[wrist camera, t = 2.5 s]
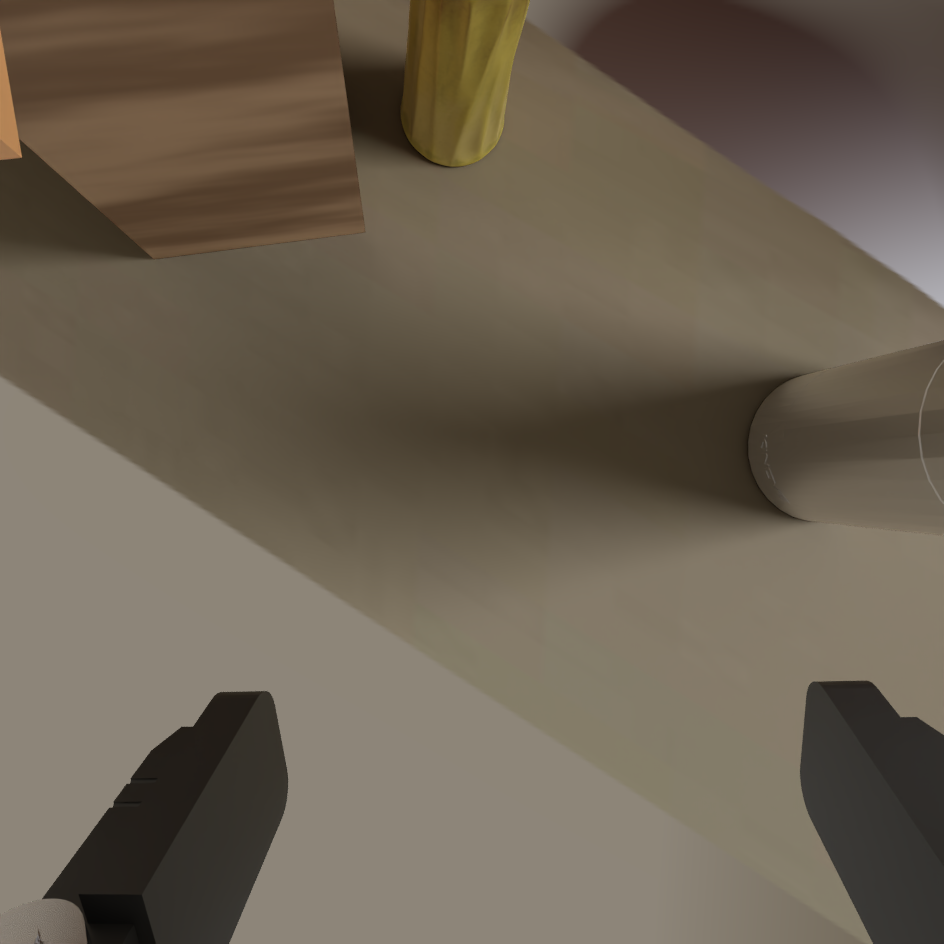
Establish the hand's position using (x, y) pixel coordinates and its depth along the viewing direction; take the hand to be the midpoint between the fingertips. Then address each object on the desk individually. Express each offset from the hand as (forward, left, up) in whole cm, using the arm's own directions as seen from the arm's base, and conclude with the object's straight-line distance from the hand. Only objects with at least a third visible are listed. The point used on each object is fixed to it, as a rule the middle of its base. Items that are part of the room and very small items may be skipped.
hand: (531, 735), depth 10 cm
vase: (-9, -24, -31) cm, 40 cm away
